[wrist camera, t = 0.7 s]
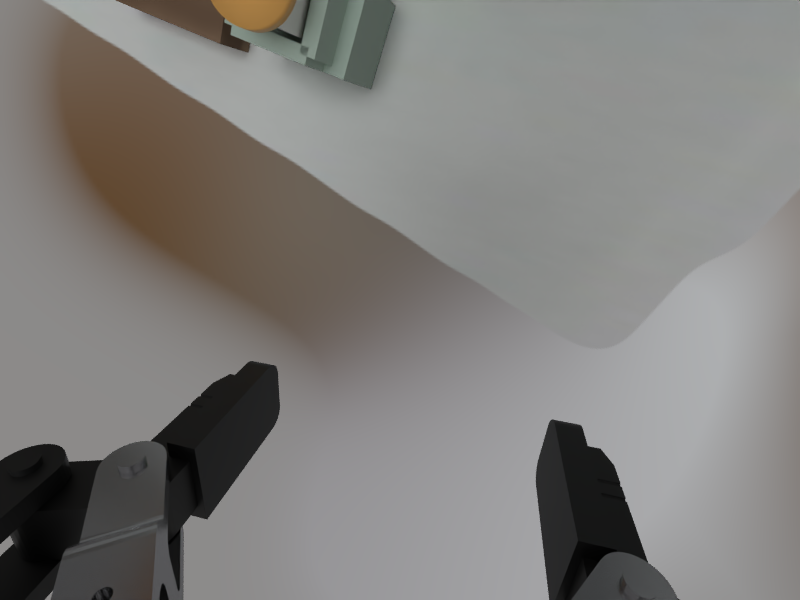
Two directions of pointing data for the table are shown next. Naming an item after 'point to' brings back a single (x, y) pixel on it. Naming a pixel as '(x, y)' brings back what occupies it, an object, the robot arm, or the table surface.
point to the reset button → (265, 14)
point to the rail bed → (192, 18)
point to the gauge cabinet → (333, 38)
